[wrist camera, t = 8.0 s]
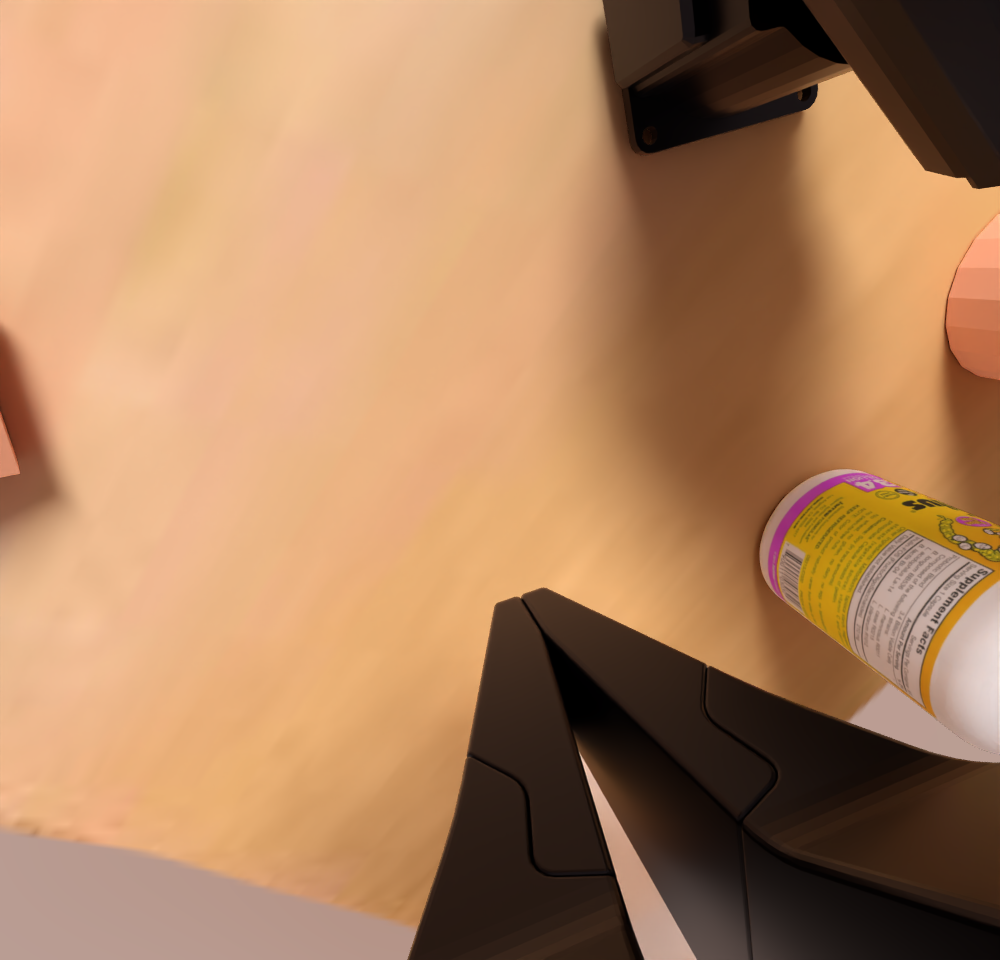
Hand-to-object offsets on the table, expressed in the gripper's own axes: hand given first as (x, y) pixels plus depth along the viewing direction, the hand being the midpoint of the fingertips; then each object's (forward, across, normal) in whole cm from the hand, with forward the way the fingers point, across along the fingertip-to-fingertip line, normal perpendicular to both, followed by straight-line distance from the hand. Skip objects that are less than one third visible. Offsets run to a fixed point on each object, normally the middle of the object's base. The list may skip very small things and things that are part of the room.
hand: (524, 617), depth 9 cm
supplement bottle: (+12, -16, +10) cm, 22 cm away
